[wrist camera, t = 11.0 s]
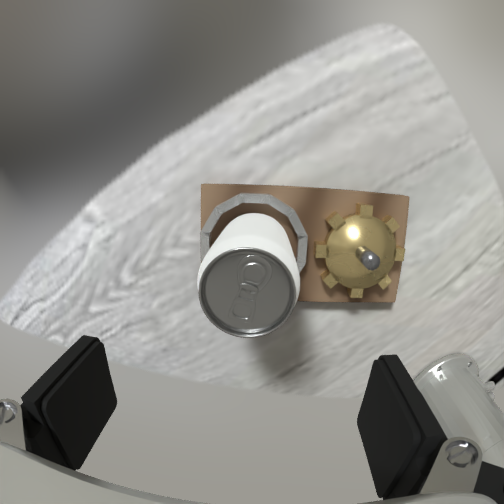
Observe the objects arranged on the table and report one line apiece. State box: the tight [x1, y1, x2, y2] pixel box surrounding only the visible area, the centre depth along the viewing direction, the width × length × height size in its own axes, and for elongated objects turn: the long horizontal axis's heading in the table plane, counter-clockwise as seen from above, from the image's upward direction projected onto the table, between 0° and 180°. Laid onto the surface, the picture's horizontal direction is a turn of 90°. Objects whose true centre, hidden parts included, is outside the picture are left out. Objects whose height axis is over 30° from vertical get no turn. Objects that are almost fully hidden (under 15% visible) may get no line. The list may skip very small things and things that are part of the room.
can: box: [197, 213, 300, 338], centre depth 24 cm, size 6×6×12 cm
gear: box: [313, 203, 405, 298], centre depth 27 cm, size 9×9×4 cm
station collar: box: [200, 193, 308, 273], centre depth 29 cm, size 10×10×1 cm
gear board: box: [201, 184, 409, 302], centre depth 30 cm, size 20×11×2 cm, turn 88°
